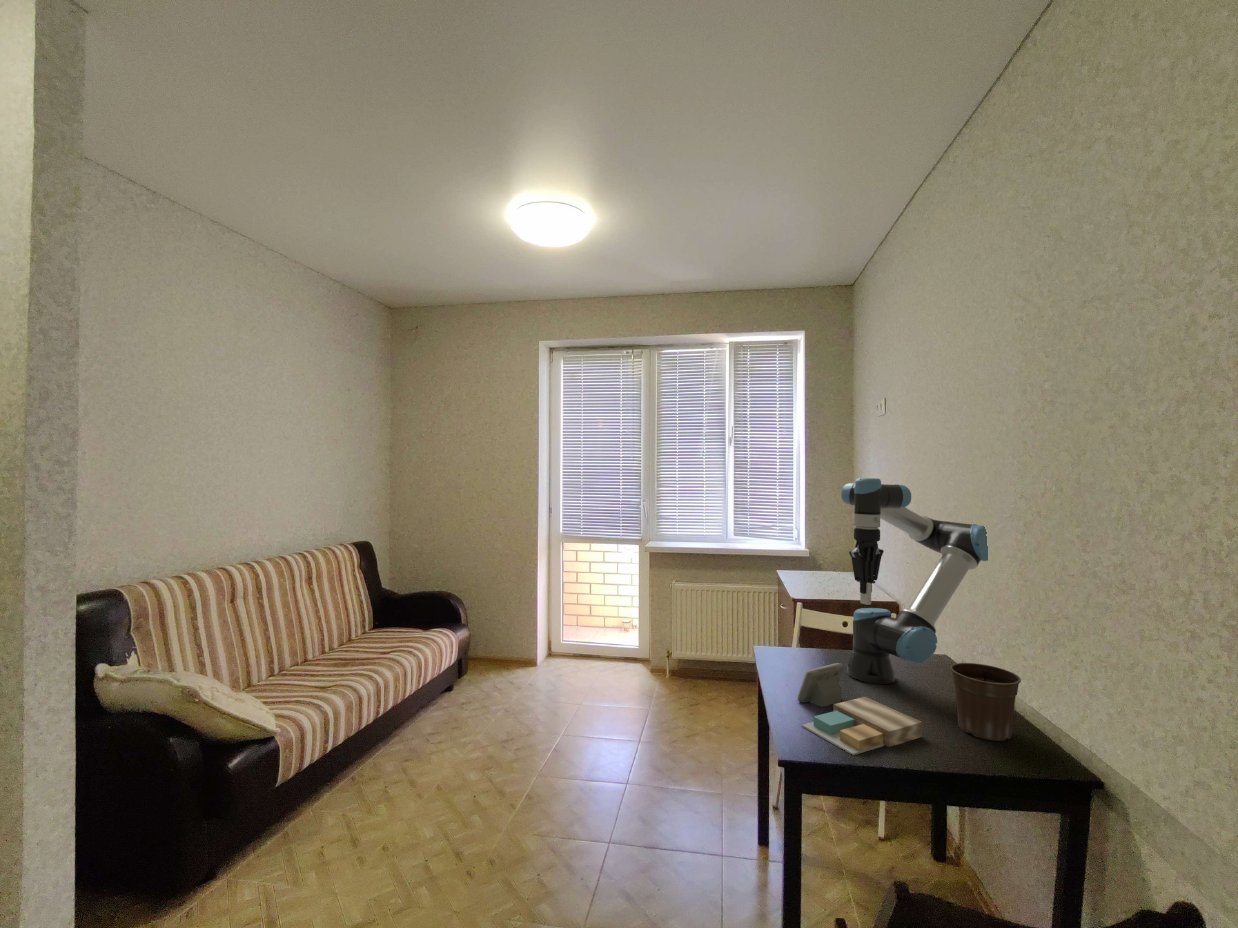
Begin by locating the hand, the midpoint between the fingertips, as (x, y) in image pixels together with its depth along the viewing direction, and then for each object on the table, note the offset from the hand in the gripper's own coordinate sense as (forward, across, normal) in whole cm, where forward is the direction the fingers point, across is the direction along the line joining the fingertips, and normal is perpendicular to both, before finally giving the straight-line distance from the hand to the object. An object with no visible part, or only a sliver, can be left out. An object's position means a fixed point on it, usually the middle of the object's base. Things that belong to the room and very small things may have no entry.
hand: (865, 603), depth 174 cm
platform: (+29, -14, -15) cm, 36 cm away
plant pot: (+30, +12, -29) cm, 43 cm away
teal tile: (+29, -25, -11) cm, 40 cm away
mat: (+29, -26, -14) cm, 42 cm away
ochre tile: (+29, -25, -20) cm, 43 cm away
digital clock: (+30, -13, +5) cm, 33 cm away
